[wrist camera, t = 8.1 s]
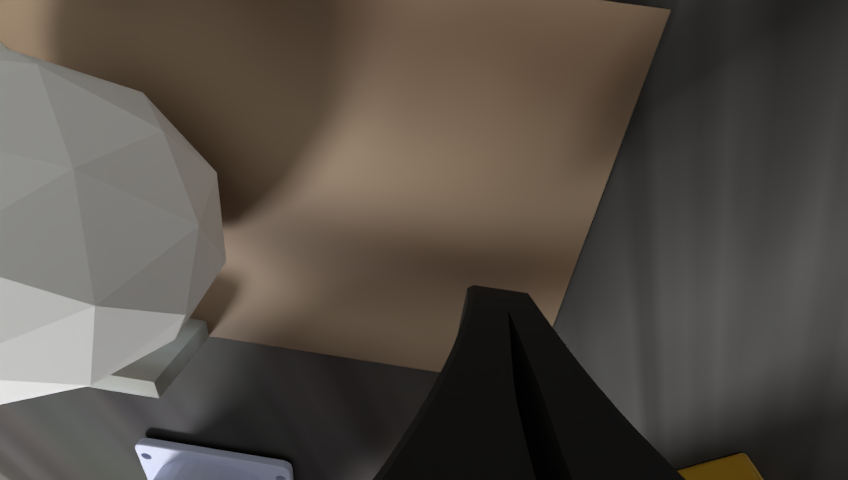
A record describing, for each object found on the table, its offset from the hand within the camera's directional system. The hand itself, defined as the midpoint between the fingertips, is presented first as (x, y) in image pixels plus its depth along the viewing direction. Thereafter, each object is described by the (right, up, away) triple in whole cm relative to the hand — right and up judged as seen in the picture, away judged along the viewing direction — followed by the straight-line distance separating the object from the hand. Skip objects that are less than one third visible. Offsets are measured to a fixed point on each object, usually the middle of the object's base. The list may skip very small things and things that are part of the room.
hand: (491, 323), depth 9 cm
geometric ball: (-10, +4, +4) cm, 12 cm away
